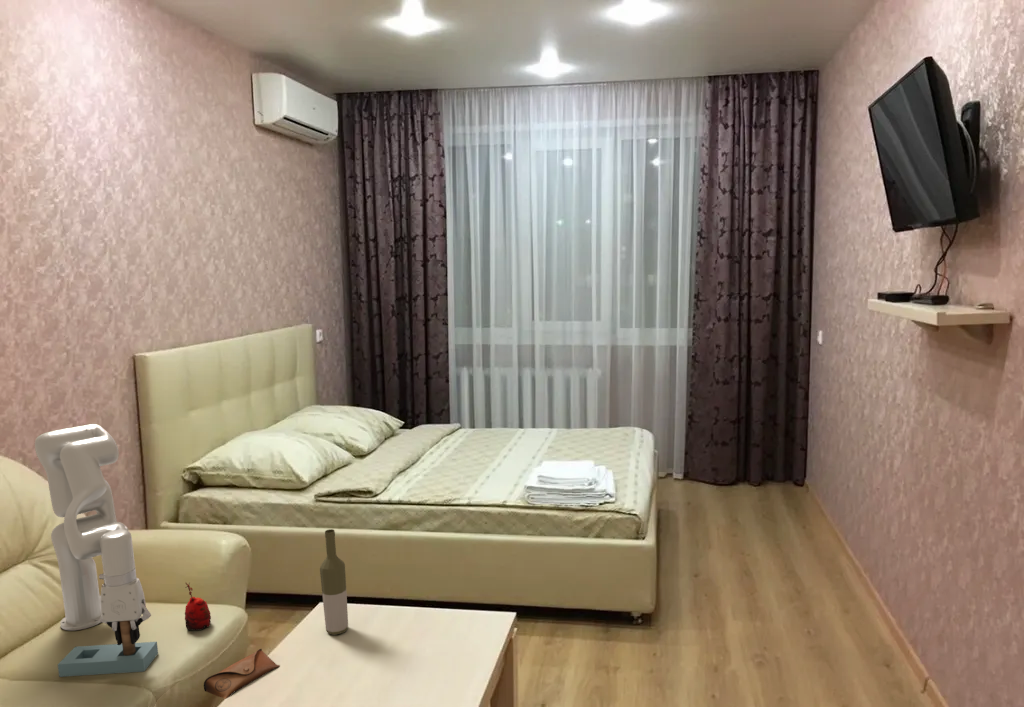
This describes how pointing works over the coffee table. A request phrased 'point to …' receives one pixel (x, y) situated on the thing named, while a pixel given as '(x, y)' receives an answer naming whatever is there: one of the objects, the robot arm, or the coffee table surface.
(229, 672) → the sunglasses case
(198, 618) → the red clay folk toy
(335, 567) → the bottle
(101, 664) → the hole block
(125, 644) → the peg
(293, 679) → the coffee table surface
